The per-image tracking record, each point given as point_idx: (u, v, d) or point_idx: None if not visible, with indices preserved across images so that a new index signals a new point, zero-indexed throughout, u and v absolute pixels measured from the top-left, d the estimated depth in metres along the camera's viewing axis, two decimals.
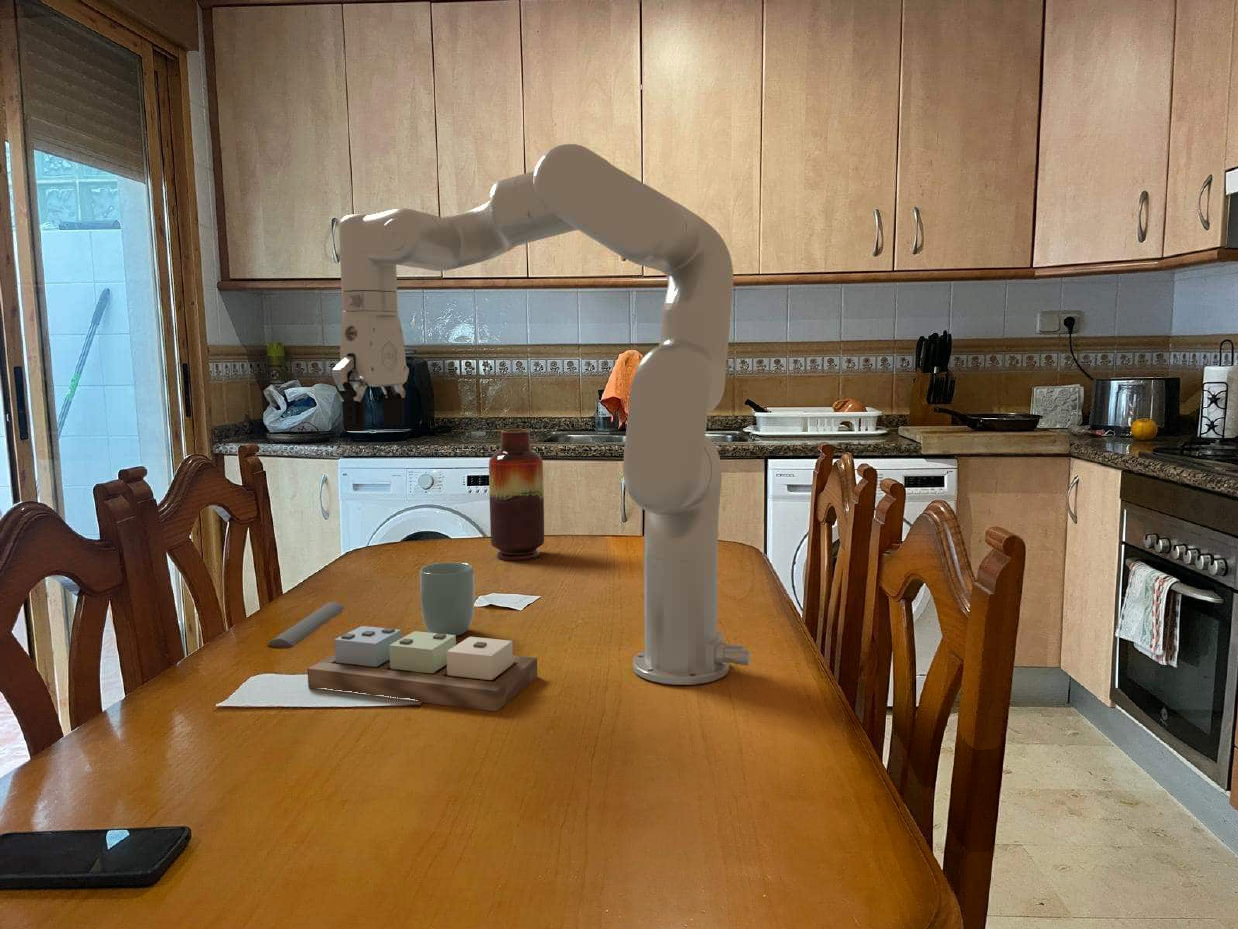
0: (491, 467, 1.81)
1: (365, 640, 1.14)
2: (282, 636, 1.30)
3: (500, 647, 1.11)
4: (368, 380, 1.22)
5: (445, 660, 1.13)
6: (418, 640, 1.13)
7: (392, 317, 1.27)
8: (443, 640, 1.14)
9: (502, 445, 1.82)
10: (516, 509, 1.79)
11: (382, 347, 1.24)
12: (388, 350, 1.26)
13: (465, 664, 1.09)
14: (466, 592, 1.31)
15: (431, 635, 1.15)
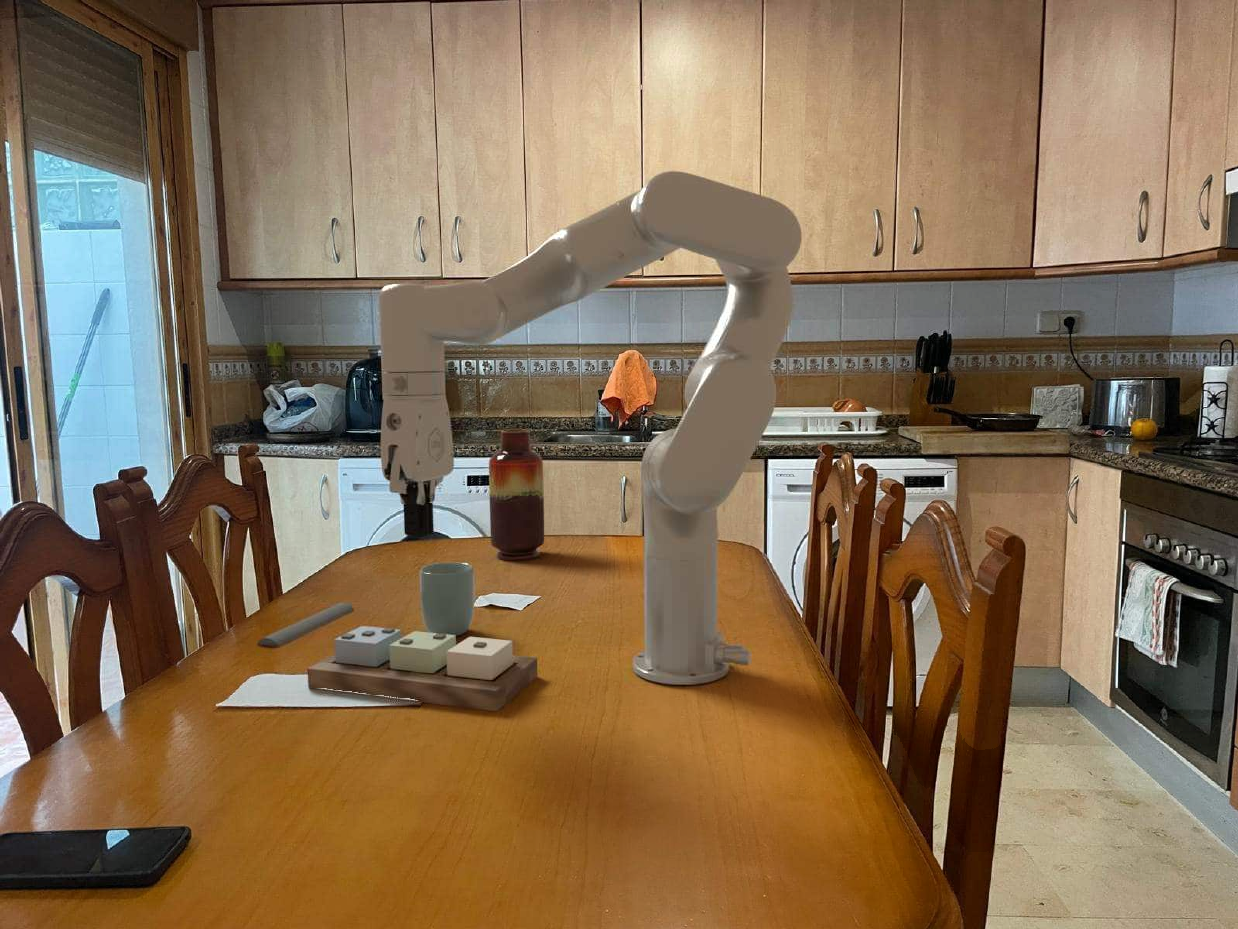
0: (491, 467, 1.81)
1: (365, 640, 1.14)
2: (271, 635, 1.30)
3: (500, 647, 1.11)
4: (414, 476, 1.06)
5: (445, 660, 1.13)
6: (418, 640, 1.13)
7: (439, 399, 1.10)
8: (443, 640, 1.14)
9: (502, 445, 1.82)
10: (516, 509, 1.79)
11: (429, 435, 1.08)
12: (434, 438, 1.09)
13: (465, 664, 1.09)
14: (466, 592, 1.31)
15: (431, 635, 1.15)
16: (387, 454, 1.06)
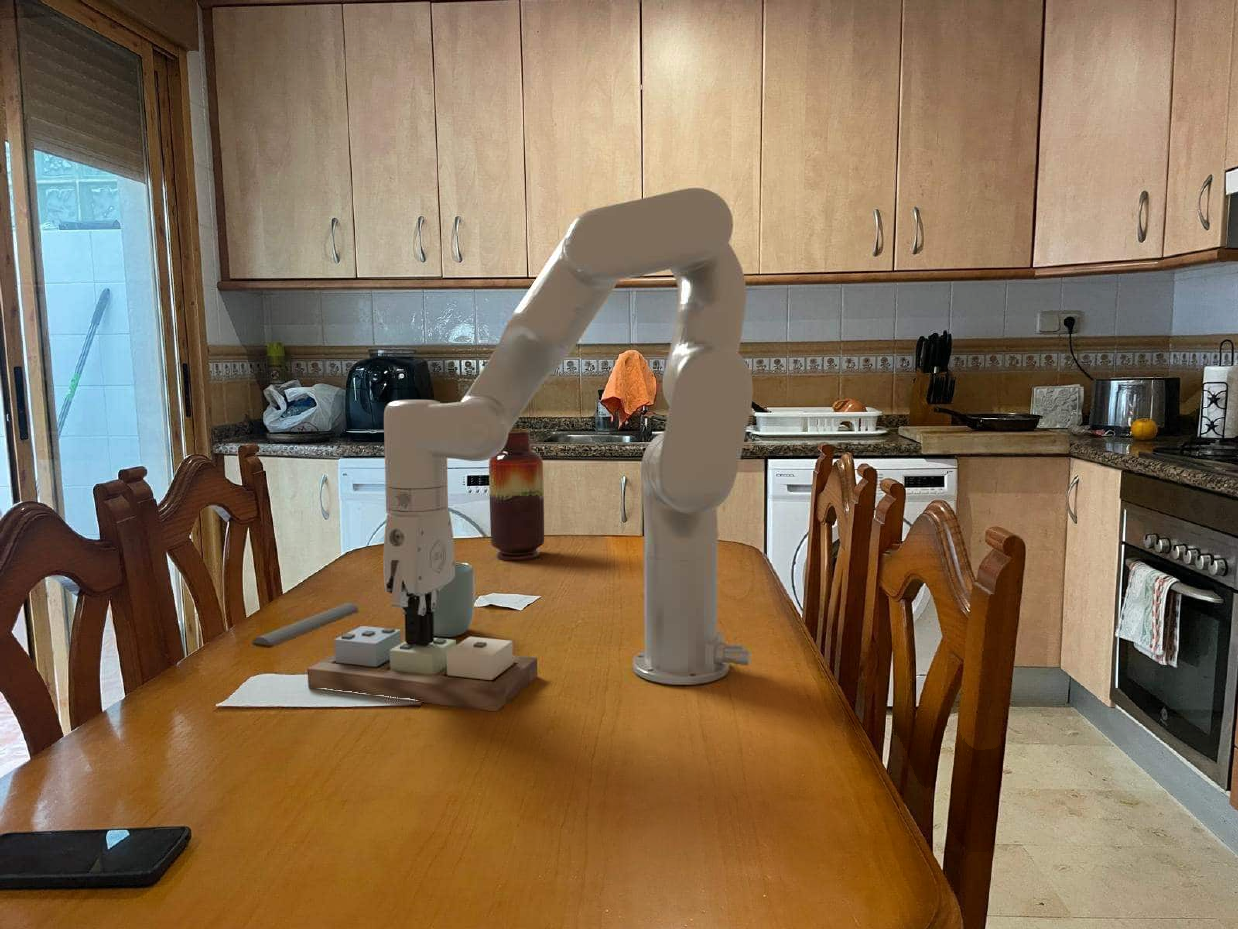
0: (491, 467, 1.81)
1: (365, 640, 1.14)
2: (266, 635, 1.30)
3: (500, 647, 1.11)
4: (415, 592, 1.07)
5: (445, 665, 1.13)
6: (419, 645, 1.13)
7: None
8: (443, 644, 1.14)
9: None
10: (516, 509, 1.79)
11: (431, 549, 1.10)
12: (436, 550, 1.11)
13: (465, 664, 1.09)
14: (466, 592, 1.31)
15: None
16: (389, 569, 1.08)
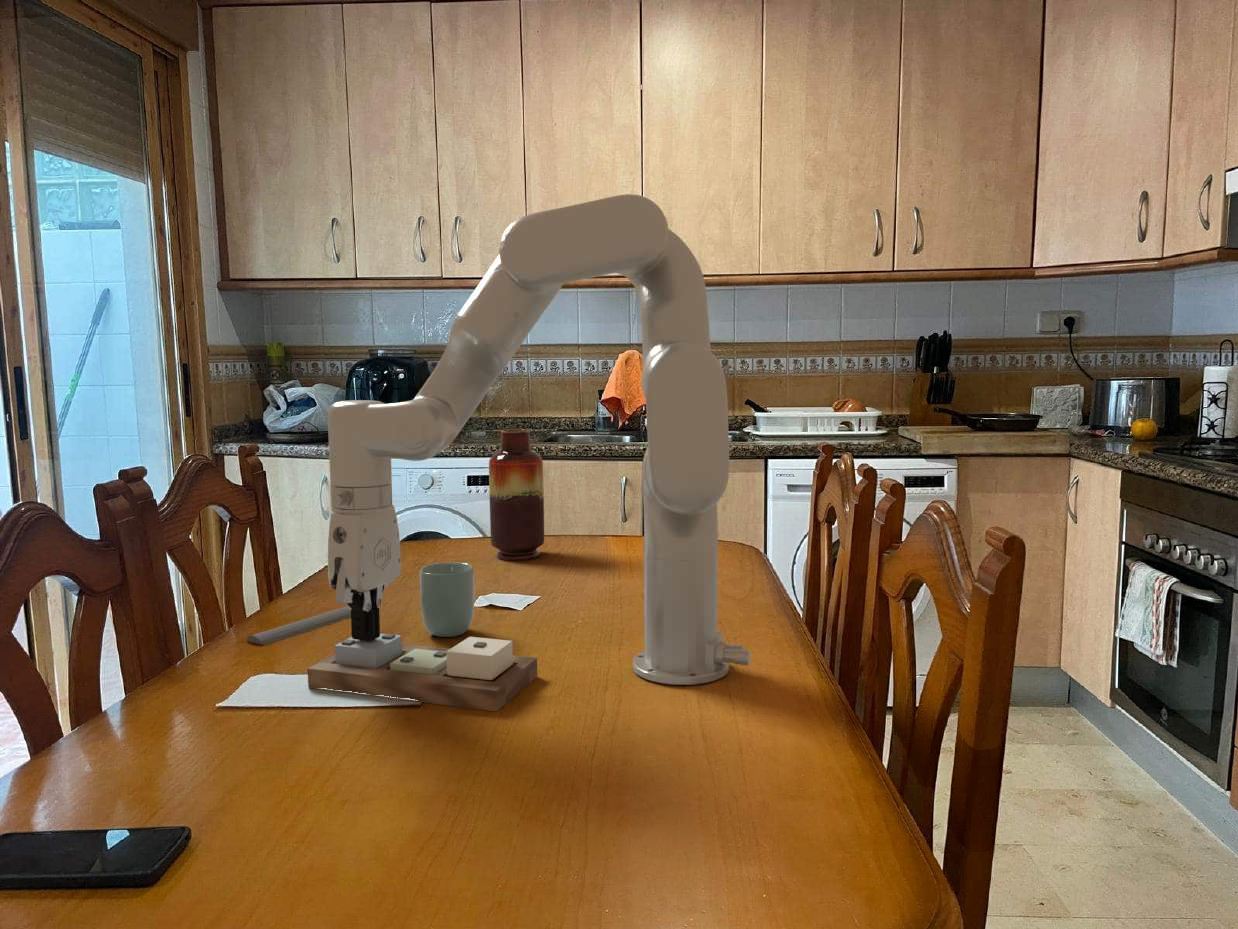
0: (491, 467, 1.81)
1: (365, 646, 1.14)
2: (259, 633, 1.31)
3: (500, 647, 1.11)
4: (358, 588, 1.10)
5: None
6: (419, 658, 1.14)
7: None
8: (444, 657, 1.14)
9: (502, 445, 1.82)
10: (516, 509, 1.79)
11: (374, 546, 1.12)
12: (380, 547, 1.14)
13: (465, 664, 1.09)
14: (466, 592, 1.31)
15: (432, 653, 1.16)
16: (333, 566, 1.10)
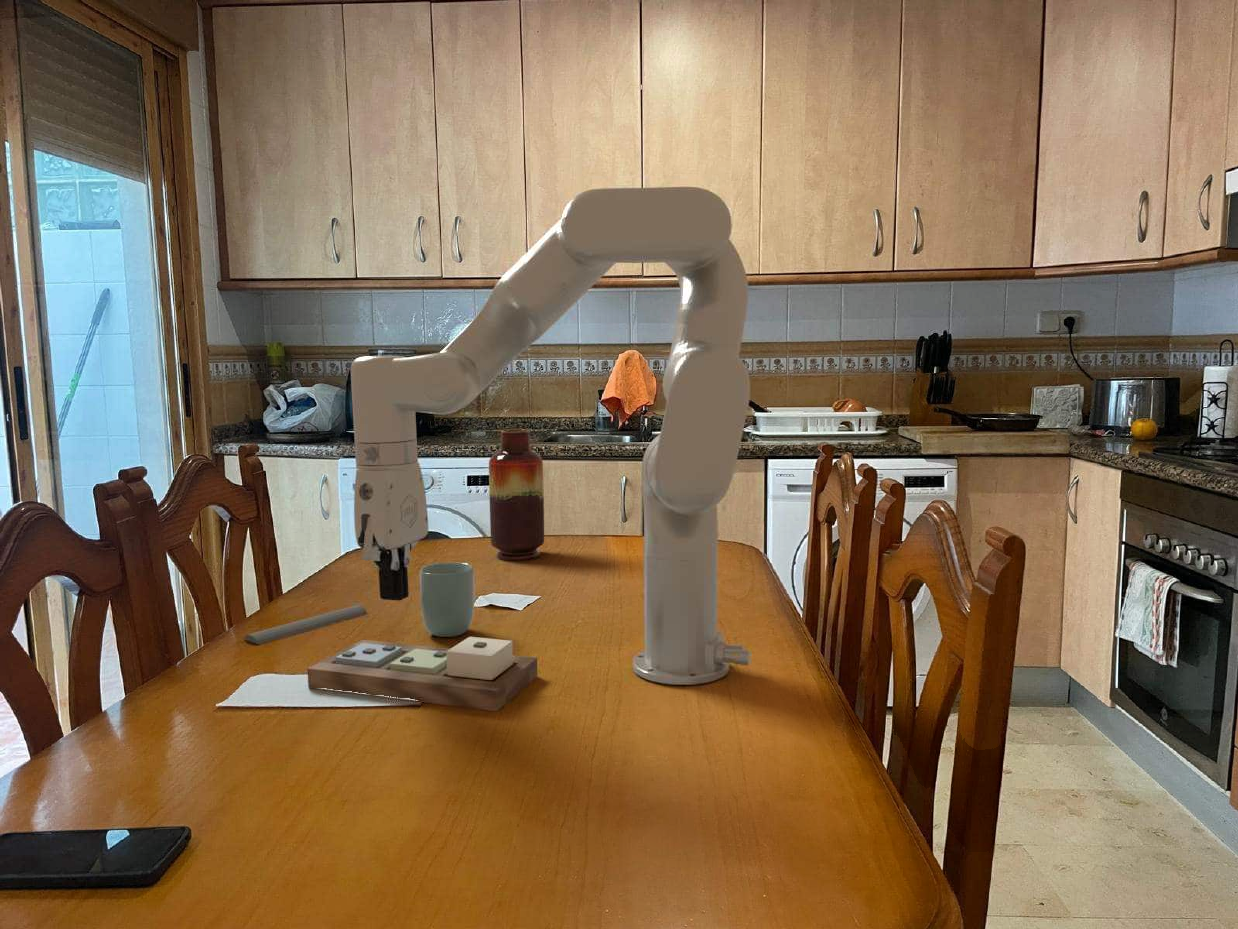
0: (491, 467, 1.81)
1: (366, 658, 1.14)
2: (256, 632, 1.31)
3: (500, 647, 1.11)
4: (386, 545, 1.08)
5: None
6: (419, 658, 1.14)
7: (411, 466, 1.13)
8: (444, 657, 1.14)
9: (502, 445, 1.82)
10: (516, 509, 1.79)
11: (401, 503, 1.10)
12: (407, 504, 1.12)
13: (465, 664, 1.09)
14: (466, 592, 1.31)
15: (432, 653, 1.16)
16: (360, 523, 1.09)
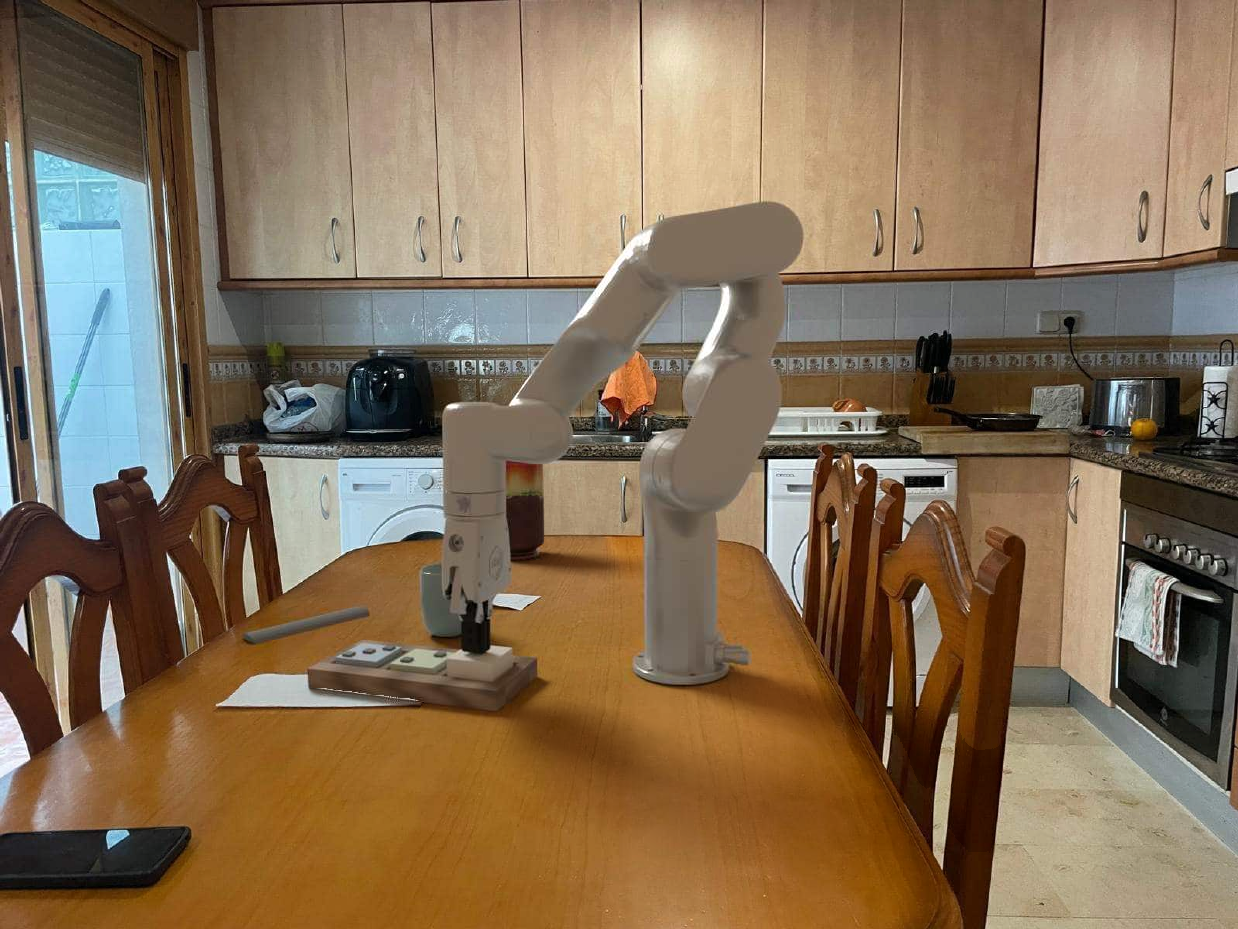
0: None
1: (366, 658, 1.14)
2: (253, 631, 1.32)
3: (500, 654, 1.11)
4: (475, 599, 1.05)
5: None
6: (419, 658, 1.14)
7: None
8: (444, 657, 1.14)
9: None
10: (516, 509, 1.79)
11: (489, 555, 1.07)
12: (494, 556, 1.09)
13: (465, 671, 1.09)
14: None
15: (432, 653, 1.16)
16: (448, 575, 1.05)
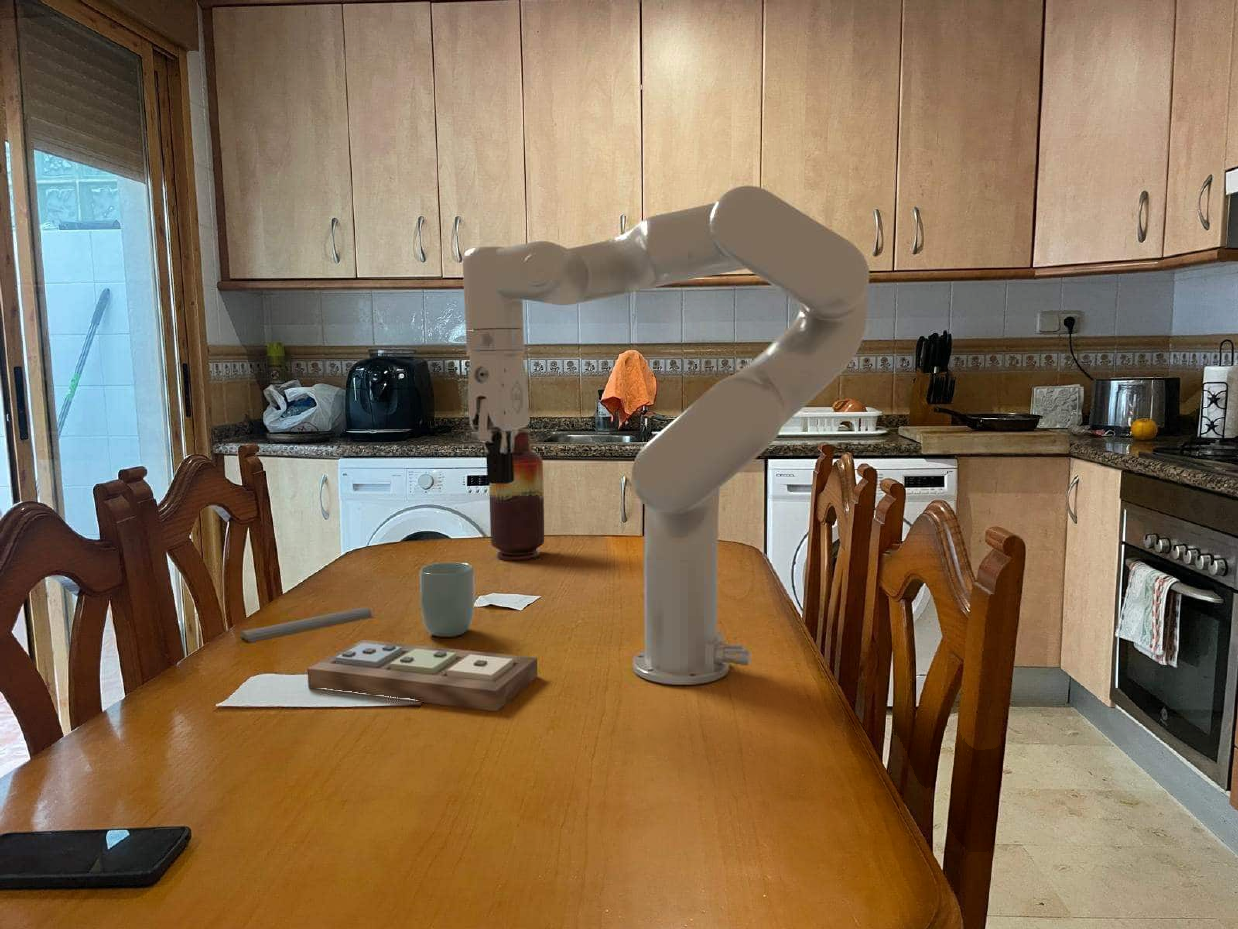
0: None
1: (366, 658, 1.14)
2: (251, 630, 1.33)
3: (500, 665, 1.11)
4: (501, 425, 1.14)
5: None
6: (419, 658, 1.14)
7: (518, 355, 1.19)
8: (444, 657, 1.14)
9: None
10: (516, 509, 1.79)
11: (512, 388, 1.16)
12: (515, 391, 1.18)
13: None
14: (466, 592, 1.31)
15: (432, 653, 1.16)
16: (475, 405, 1.14)
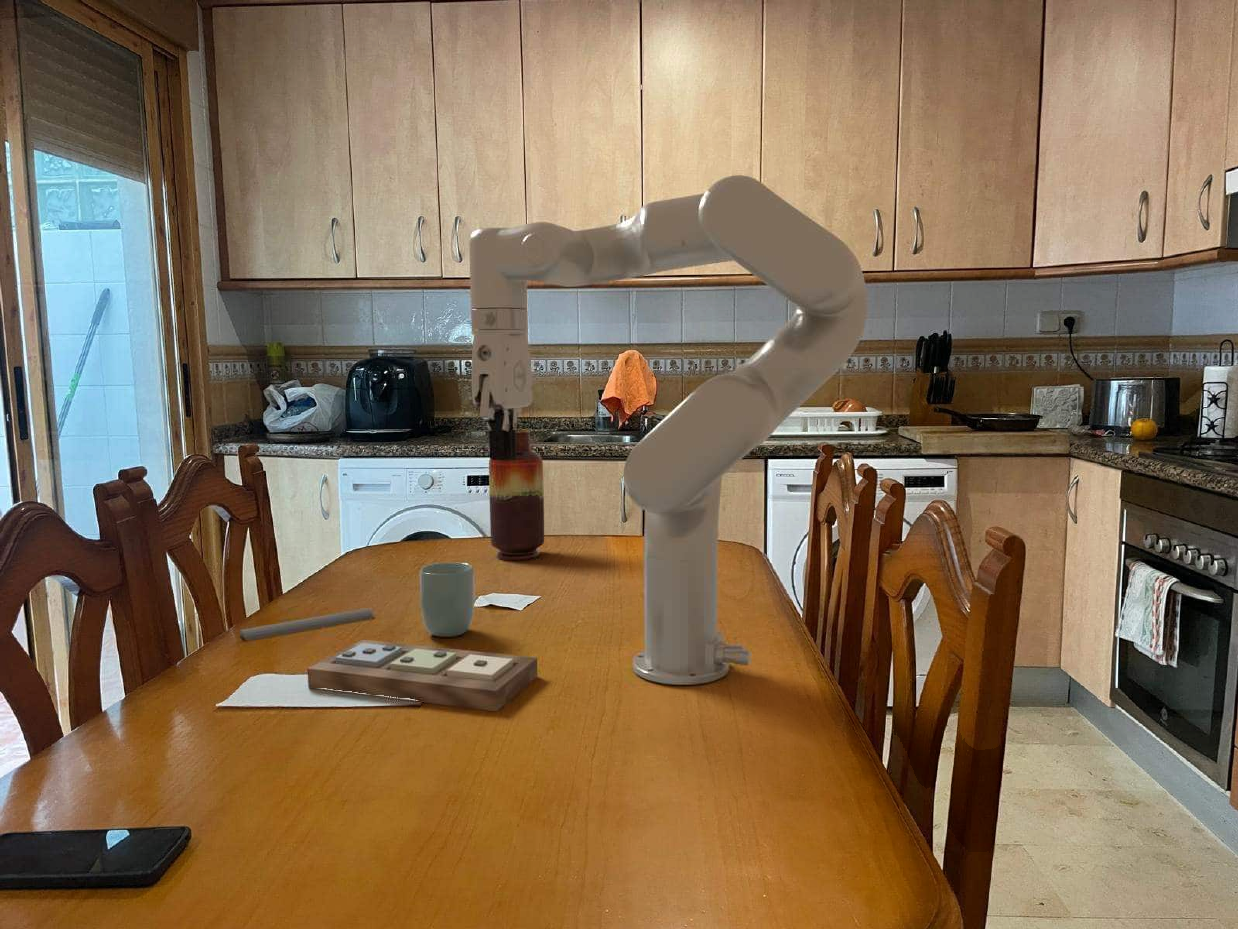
0: (491, 467, 1.81)
1: (366, 658, 1.14)
2: (249, 629, 1.33)
3: (500, 665, 1.11)
4: (502, 402, 1.16)
5: None
6: (419, 658, 1.14)
7: (522, 335, 1.21)
8: (444, 657, 1.14)
9: None
10: (516, 509, 1.79)
11: (514, 367, 1.19)
12: (518, 369, 1.20)
13: None
14: (466, 592, 1.31)
15: (432, 653, 1.16)
16: (478, 382, 1.17)
